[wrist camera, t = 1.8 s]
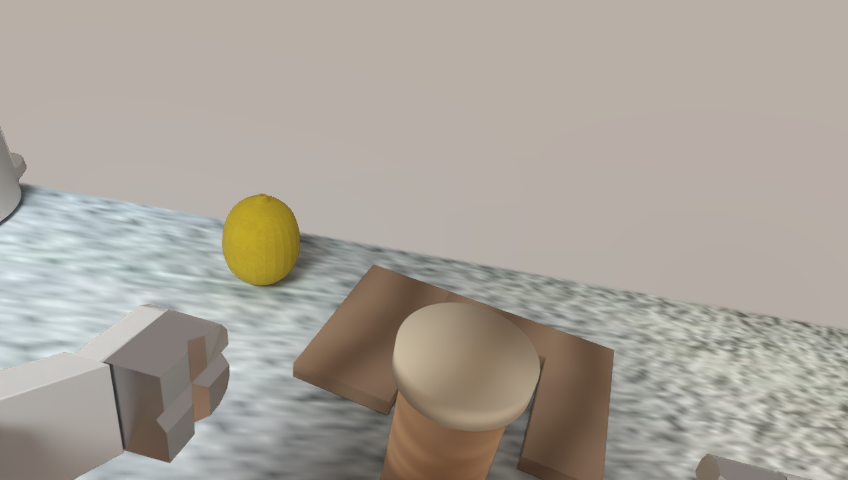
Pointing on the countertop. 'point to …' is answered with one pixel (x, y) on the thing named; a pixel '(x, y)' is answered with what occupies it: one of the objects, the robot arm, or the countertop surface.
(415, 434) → the bobbin
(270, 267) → the lemon
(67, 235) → the countertop surface
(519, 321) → the notched board
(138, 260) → the countertop surface
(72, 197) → the countertop surface
